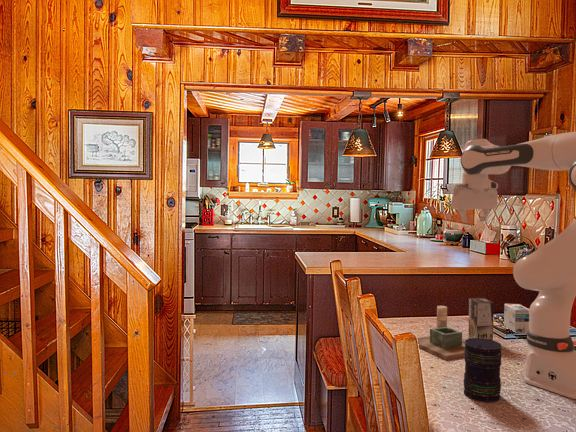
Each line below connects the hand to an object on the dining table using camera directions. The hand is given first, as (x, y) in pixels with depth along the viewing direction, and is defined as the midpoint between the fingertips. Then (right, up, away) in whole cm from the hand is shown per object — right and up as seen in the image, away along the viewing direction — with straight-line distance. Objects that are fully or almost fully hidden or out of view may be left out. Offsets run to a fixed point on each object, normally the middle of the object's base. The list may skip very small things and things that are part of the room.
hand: (473, 221), depth 175 cm
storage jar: (-13, -49, -39) cm, 64 cm away
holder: (-10, -47, +2) cm, 48 cm away
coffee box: (+6, -47, +10) cm, 48 cm away
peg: (-4, -46, +24) cm, 52 cm away
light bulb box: (+26, -46, +22) cm, 57 cm away
